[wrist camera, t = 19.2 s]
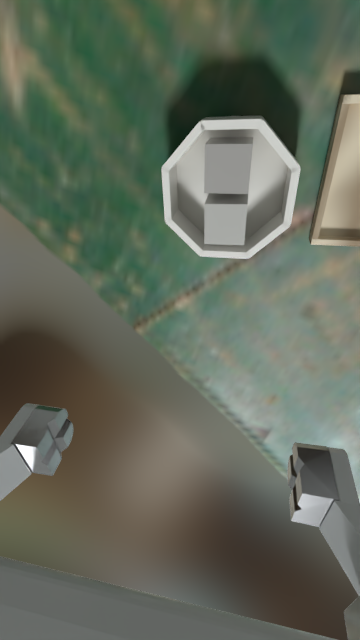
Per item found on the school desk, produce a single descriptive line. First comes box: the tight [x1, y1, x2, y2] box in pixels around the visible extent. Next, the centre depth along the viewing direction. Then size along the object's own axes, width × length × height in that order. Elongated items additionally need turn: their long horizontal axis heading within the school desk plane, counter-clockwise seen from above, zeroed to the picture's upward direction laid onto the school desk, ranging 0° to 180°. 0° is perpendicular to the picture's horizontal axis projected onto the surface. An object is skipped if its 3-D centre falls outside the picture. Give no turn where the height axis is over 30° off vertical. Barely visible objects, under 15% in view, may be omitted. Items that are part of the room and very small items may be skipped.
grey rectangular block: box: [204, 137, 253, 194], centre depth 29 cm, size 4×4×4 cm
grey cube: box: [204, 193, 248, 245], centre depth 32 cm, size 4×4×4 cm
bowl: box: [161, 116, 301, 259], centre depth 31 cm, size 12×12×4 cm
